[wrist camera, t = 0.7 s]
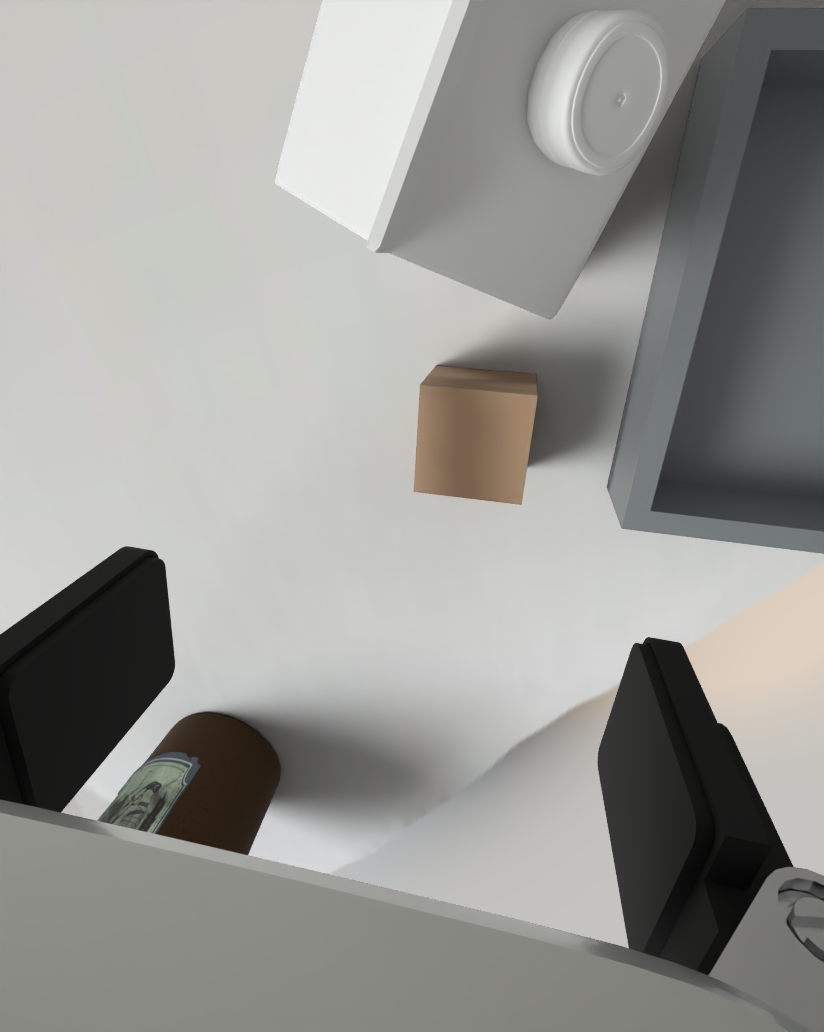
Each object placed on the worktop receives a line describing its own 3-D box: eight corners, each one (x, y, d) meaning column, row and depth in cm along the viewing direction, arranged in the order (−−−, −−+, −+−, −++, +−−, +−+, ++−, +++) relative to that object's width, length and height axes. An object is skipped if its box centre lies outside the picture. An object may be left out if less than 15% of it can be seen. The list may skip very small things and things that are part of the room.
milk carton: (402, 220, 26) (171, 152, 9) (469, 39, 23) (312, -601, 6) (539, 288, 26) (567, 347, 9) (625, 118, 23) (918, -281, 6)
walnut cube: (535, 373, 28) (537, 395, 23) (521, 467, 30) (521, 504, 25) (436, 365, 28) (420, 384, 24) (430, 457, 31) (413, 491, 26)
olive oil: (314, 791, 44) (95, 1346, 21) (212, 814, 47) (-65, 1310, 25) (240, 690, 41) (-107, 1218, 18) (137, 723, 44) (-257, 1198, 22)
